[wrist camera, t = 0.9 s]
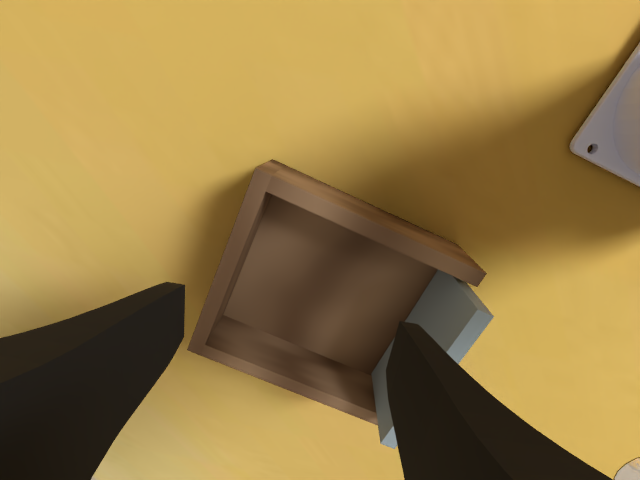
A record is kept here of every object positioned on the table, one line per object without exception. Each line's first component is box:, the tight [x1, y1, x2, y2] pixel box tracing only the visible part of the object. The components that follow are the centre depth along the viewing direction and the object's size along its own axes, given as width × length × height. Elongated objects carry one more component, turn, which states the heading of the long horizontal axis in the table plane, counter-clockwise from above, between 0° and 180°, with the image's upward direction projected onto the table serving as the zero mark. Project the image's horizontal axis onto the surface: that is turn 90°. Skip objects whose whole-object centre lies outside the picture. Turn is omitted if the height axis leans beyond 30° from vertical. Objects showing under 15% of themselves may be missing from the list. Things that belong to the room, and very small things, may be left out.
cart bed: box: [187, 159, 487, 425], centre depth 19 cm, size 12×11×4 cm
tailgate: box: [371, 270, 494, 449], centre depth 18 cm, size 1×9×5 cm, turn 155°
